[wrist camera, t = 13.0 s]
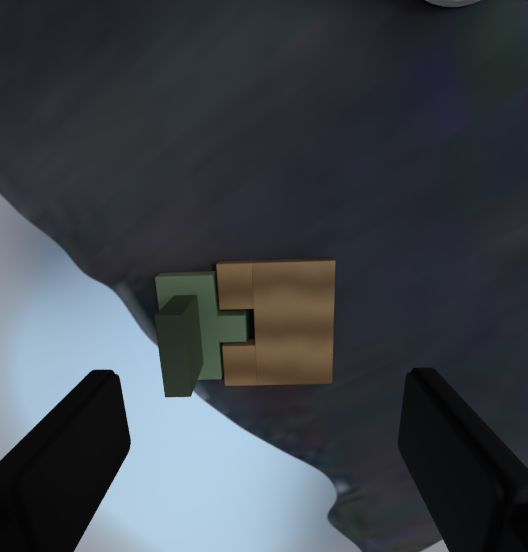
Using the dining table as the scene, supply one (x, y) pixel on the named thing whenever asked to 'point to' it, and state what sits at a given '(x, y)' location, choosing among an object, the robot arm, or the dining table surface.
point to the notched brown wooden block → (280, 320)
